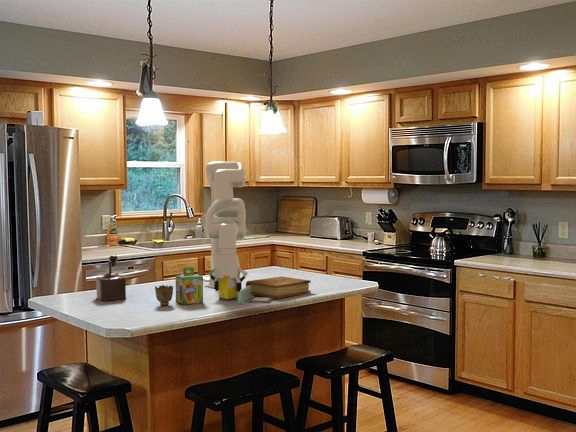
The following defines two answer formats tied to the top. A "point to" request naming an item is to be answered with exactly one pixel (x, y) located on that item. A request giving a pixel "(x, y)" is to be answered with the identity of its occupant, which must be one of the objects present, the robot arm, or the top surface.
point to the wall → (244, 295)
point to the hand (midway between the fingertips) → (228, 291)
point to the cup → (164, 294)
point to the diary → (278, 287)
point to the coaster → (260, 299)
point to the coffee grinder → (111, 284)
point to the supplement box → (227, 288)
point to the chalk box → (189, 287)
